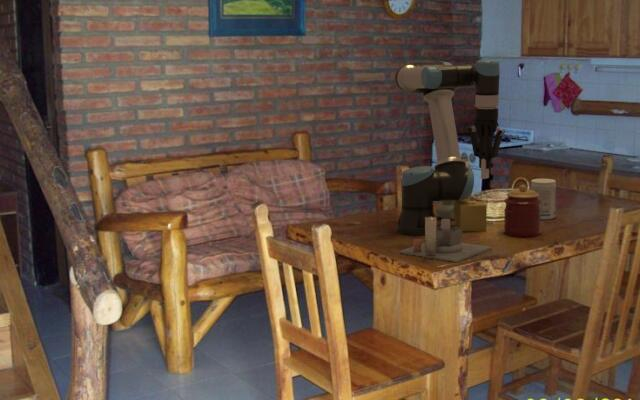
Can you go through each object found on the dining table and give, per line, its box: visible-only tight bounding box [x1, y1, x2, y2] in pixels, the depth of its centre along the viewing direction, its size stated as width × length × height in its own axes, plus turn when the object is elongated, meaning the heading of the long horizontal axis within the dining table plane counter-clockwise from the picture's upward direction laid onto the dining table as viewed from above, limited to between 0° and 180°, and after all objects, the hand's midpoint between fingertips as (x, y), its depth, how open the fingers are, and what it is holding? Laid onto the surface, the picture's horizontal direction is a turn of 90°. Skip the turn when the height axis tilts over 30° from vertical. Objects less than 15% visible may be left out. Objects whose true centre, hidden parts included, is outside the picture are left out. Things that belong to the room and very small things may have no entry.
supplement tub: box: [530, 178, 557, 220], centre depth 342 cm, size 10×10×15 cm
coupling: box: [424, 216, 463, 255], centre depth 289 cm, size 16×8×12 cm, turn 144°
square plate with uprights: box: [398, 218, 492, 263], centre depth 293 cm, size 22×22×11 cm
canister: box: [503, 184, 542, 237], centre depth 316 cm, size 13×13×18 cm
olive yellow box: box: [454, 199, 487, 233], centre depth 326 cm, size 10×11×10 cm
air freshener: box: [435, 200, 455, 221], centre depth 345 cm, size 11×8×10 cm
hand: (484, 178), depth 295 cm, fingers closed
